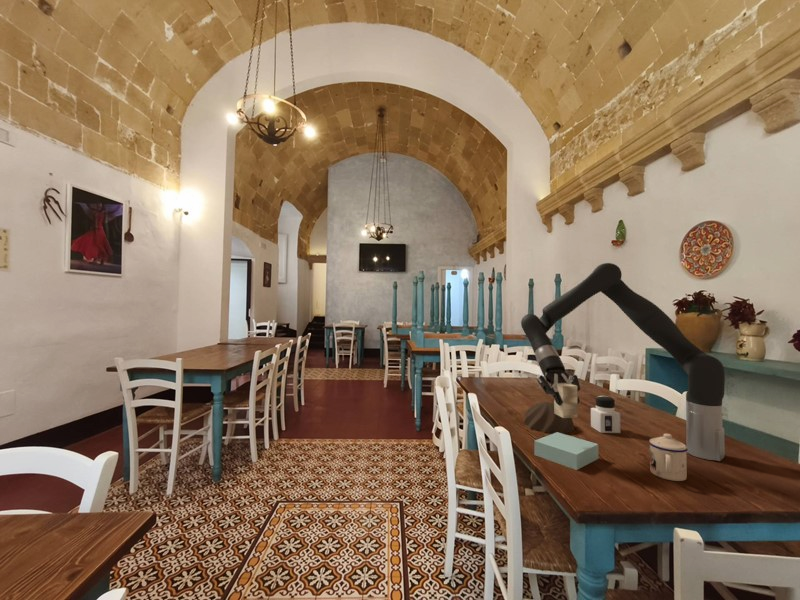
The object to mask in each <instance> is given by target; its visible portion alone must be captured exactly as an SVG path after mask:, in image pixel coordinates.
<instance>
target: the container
mask: <svg viewBox="0 0 800 600" xmlns="http://www.w3.org/2000/svg"><path fill="white" fill-rule="evenodd" d="M615 402H616V401H615V399H614V398H613V397H611V396H606V395H599V396H596V397H595V407H590V427H591V428H592V429H594V430H596V431H597V432H599V433H600V434H621V412H618V411H616V410H615V406H616V405H615Z"/></svg>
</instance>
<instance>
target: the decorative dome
mask: <svg viewBox="0 0 800 600" xmlns="http://www.w3.org/2000/svg"><path fill="white" fill-rule="evenodd" d="M524 414H525V415H524V420H523V423H522V424H523V425H524V424H525V425H524V426H526V425H527V426H526V427H527V428H528V429H529V428H530V430H533V429H534V430H535V431H538V432H541V433H544V434H554V433H556V432H558V433H562V434H567V433H574V429H575V428H576V427H575V425H574V424H575V423H574V422H573V421H574V420H573V418H562V417H560V416H558V415H557V414H555V413H554V402H552V401H540V402H537V403H535V404H533V405H532V406H530V407H529V408H528V409H527V410H526V412H525V413H524Z"/></svg>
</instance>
